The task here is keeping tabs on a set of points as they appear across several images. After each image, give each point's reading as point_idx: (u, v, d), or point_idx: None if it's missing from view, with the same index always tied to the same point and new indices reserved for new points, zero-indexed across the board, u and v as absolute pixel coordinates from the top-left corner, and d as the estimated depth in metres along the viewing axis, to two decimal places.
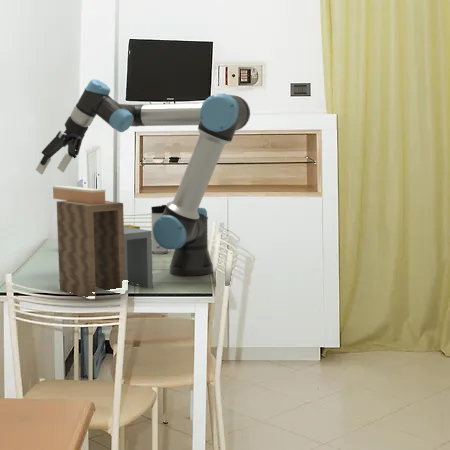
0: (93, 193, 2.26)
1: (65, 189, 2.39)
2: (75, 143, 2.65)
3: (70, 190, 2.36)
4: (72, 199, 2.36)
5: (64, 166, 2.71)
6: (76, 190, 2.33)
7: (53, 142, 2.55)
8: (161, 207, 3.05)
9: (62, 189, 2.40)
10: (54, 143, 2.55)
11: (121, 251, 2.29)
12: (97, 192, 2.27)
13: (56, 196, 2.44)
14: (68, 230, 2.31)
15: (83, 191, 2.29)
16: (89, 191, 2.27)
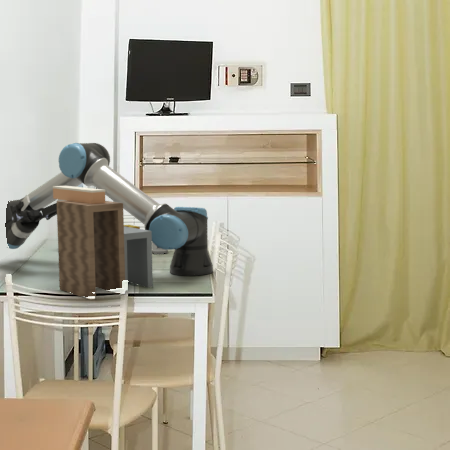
0: (93, 193, 2.26)
1: (65, 189, 2.39)
2: None
3: (70, 190, 2.36)
4: (72, 199, 2.36)
5: None
6: (76, 190, 2.33)
7: None
8: None
9: (62, 189, 2.40)
10: None
11: (121, 251, 2.29)
12: (97, 192, 2.27)
13: (56, 196, 2.44)
14: (68, 230, 2.31)
15: (83, 191, 2.29)
16: (89, 191, 2.27)
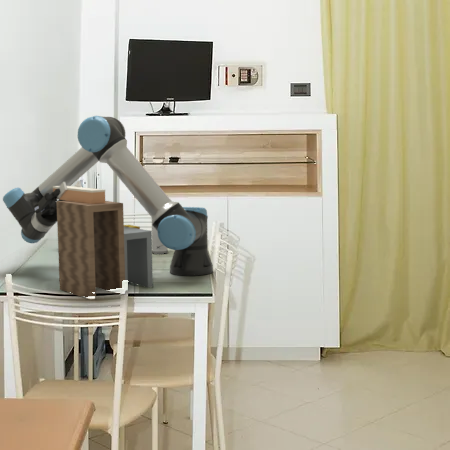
0: (93, 193, 2.26)
1: None
2: None
3: (70, 190, 2.36)
4: (72, 199, 2.36)
5: (75, 185, 2.43)
6: (76, 190, 2.33)
7: (41, 204, 2.45)
8: None
9: None
10: (41, 203, 2.45)
11: (121, 251, 2.29)
12: (97, 192, 2.27)
13: None
14: (68, 230, 2.31)
15: (83, 191, 2.29)
16: (89, 191, 2.27)
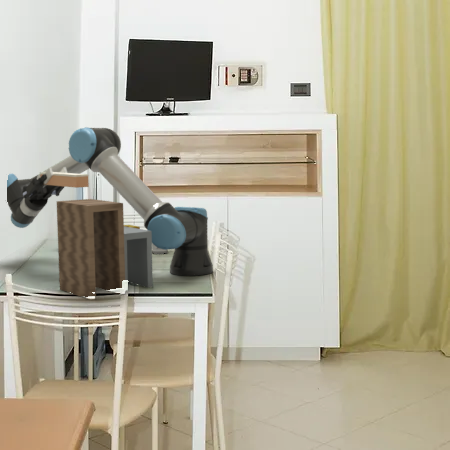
0: (77, 177, 2.40)
1: None
2: None
3: (56, 175, 2.50)
4: (58, 184, 2.50)
5: (61, 171, 2.57)
6: (61, 175, 2.47)
7: (29, 189, 2.59)
8: None
9: None
10: (28, 188, 2.59)
11: (121, 251, 2.29)
12: (81, 176, 2.41)
13: None
14: (68, 230, 2.31)
15: (68, 176, 2.44)
16: (73, 176, 2.41)
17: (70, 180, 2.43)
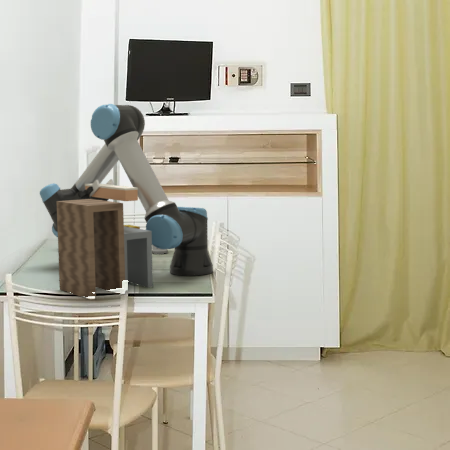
0: (126, 191, 2.36)
1: None
2: None
3: (103, 188, 2.46)
4: (105, 196, 2.45)
5: (107, 183, 2.52)
6: (109, 188, 2.43)
7: None
8: None
9: None
10: None
11: (121, 251, 2.29)
12: (130, 190, 2.36)
13: None
14: (68, 230, 2.31)
15: (116, 189, 2.39)
16: (122, 189, 2.36)
17: (119, 193, 2.38)
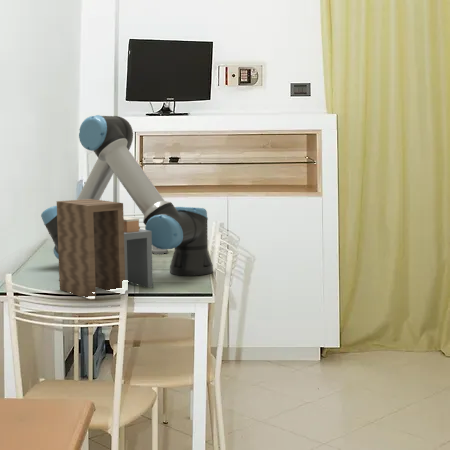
0: (128, 222, 2.37)
1: None
2: None
3: None
4: None
5: None
6: None
7: None
8: None
9: None
10: None
11: (121, 251, 2.29)
12: (131, 221, 2.38)
13: None
14: (68, 230, 2.31)
15: None
16: (124, 220, 2.37)
17: None
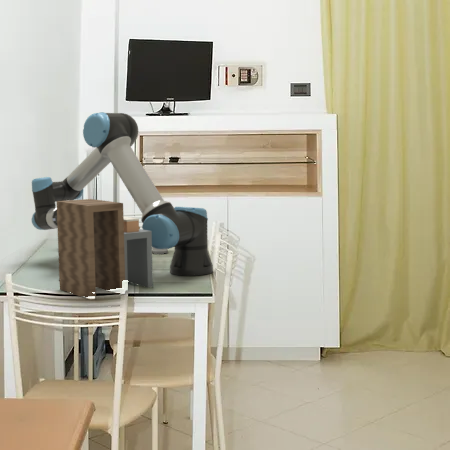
0: (128, 222, 2.37)
1: None
2: None
3: None
4: None
5: None
6: None
7: (56, 220, 2.64)
8: None
9: None
10: (55, 219, 2.64)
11: (121, 251, 2.29)
12: (131, 221, 2.38)
13: None
14: (68, 230, 2.31)
15: None
16: (124, 220, 2.37)
17: None
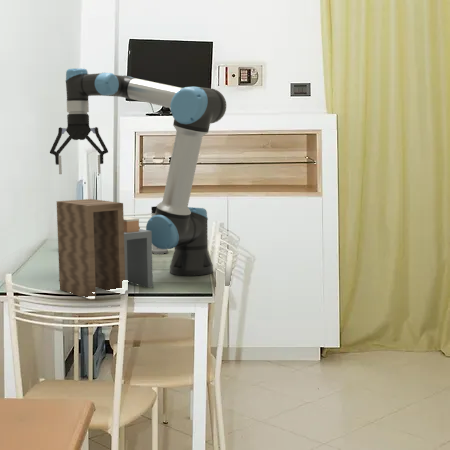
0: (128, 222, 2.37)
1: None
2: (86, 136, 2.66)
3: None
4: None
5: (98, 167, 2.69)
6: None
7: None
8: None
9: None
10: (55, 139, 2.66)
11: (121, 251, 2.29)
12: (131, 221, 2.38)
13: None
14: (68, 230, 2.31)
15: None
16: (124, 220, 2.37)
17: None
